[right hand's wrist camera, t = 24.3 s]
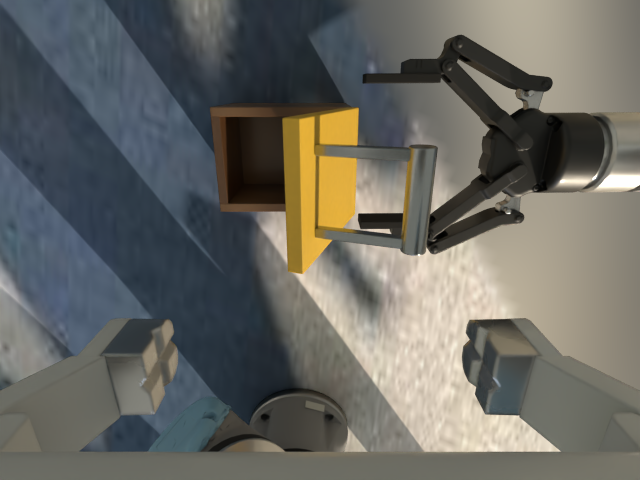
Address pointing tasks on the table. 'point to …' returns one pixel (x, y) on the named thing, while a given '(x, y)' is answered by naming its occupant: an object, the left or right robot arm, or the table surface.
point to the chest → (254, 152)
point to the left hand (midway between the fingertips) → (361, 154)
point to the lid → (345, 186)
